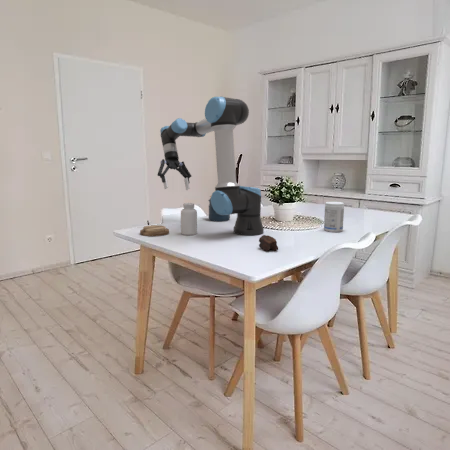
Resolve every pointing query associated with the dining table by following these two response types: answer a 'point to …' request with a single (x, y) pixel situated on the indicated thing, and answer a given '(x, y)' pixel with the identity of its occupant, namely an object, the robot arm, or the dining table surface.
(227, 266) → the dining table surface
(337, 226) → the supplement tub
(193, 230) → the pill bottle
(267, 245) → the brown notched block
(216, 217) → the canister
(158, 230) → the brown rope coil
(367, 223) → the dining table surface
